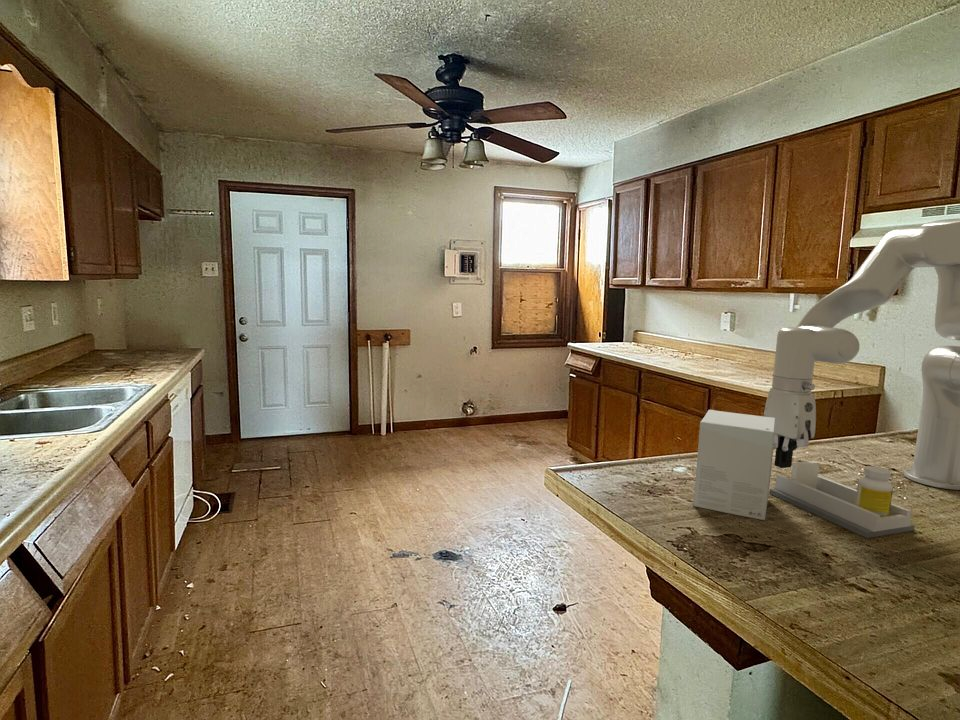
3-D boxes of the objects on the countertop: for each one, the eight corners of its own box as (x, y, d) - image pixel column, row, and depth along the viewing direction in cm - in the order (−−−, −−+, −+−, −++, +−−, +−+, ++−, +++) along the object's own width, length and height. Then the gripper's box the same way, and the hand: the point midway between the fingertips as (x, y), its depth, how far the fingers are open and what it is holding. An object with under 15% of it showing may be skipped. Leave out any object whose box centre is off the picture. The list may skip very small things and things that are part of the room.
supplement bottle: (894, 526, 105) (901, 475, 104) (861, 523, 106) (868, 472, 105) (879, 515, 111) (886, 466, 109) (848, 512, 112) (854, 463, 110)
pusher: (811, 487, 124) (814, 460, 123) (816, 489, 123) (819, 462, 122) (789, 490, 122) (792, 462, 121) (794, 492, 121) (797, 464, 120)
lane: (811, 488, 127) (813, 470, 127) (914, 530, 107) (917, 509, 106) (769, 493, 123) (771, 475, 123) (867, 538, 103) (870, 516, 102)
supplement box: (768, 499, 120) (777, 417, 118) (765, 521, 109) (775, 431, 106) (700, 486, 126) (707, 408, 124) (691, 506, 115) (699, 421, 112)
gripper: (835, 391, 119) (825, 476, 121) (777, 378, 133) (769, 455, 135) (808, 392, 116) (798, 479, 119) (751, 379, 130) (743, 457, 133)
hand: (782, 466), depth 127 cm, fingers closed
